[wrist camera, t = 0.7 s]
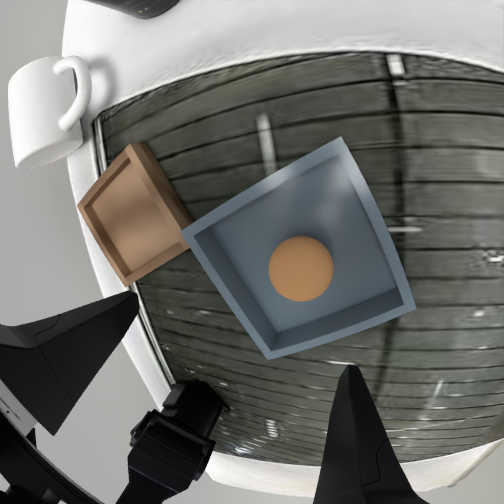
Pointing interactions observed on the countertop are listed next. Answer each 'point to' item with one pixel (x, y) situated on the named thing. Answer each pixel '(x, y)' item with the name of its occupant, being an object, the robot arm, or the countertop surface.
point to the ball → (301, 268)
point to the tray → (135, 214)
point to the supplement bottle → (137, 6)
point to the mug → (47, 109)
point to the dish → (310, 225)
